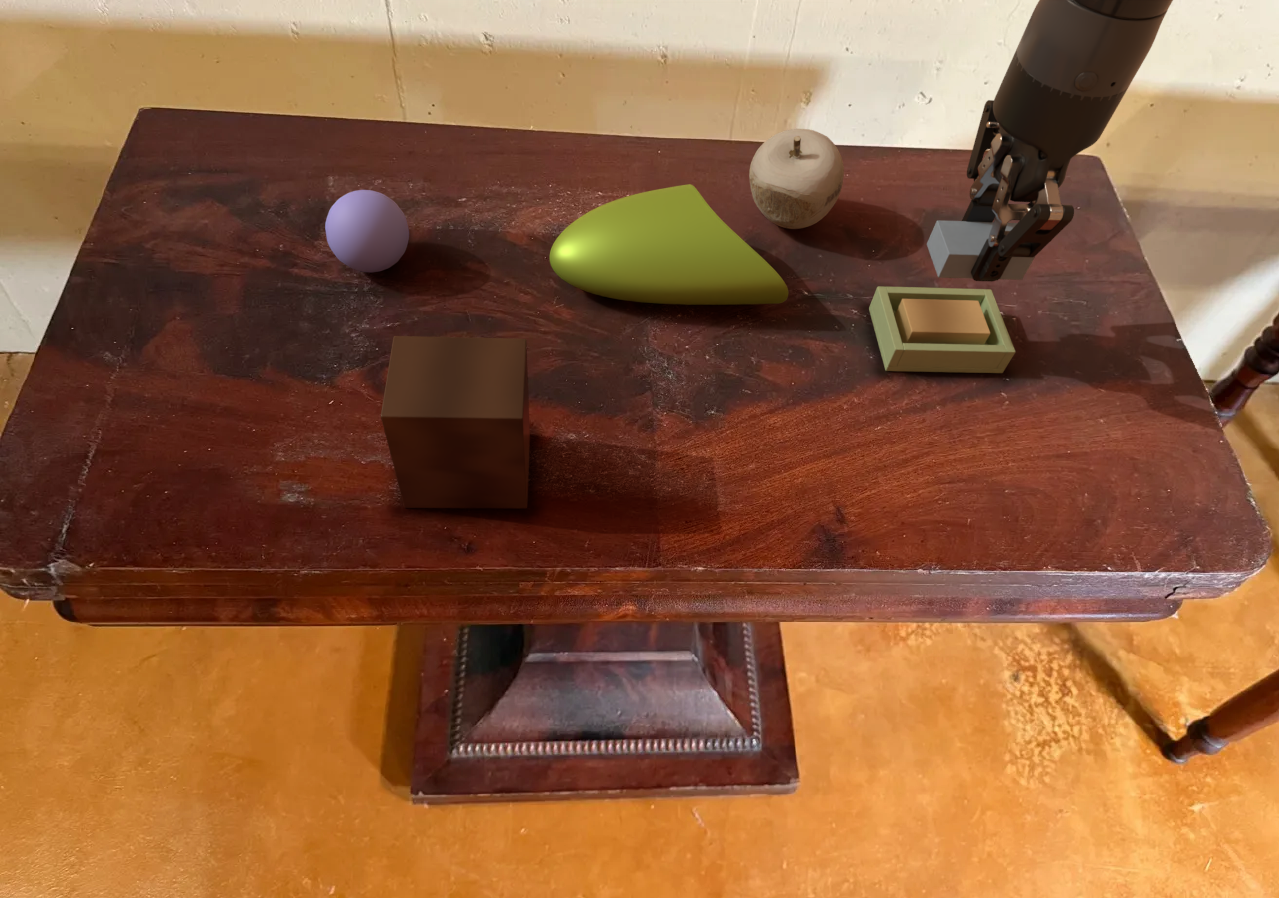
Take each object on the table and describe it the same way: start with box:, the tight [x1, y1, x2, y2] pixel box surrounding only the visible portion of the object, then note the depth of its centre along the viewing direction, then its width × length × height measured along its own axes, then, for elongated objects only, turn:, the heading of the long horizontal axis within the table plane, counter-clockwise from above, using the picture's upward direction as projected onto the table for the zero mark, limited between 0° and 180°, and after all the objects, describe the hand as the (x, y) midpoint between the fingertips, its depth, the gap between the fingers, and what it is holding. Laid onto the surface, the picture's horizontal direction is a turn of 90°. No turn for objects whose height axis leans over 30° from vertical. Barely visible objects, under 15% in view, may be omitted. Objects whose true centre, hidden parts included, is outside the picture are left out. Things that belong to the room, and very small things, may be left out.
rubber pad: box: [926, 219, 1036, 281], centre depth 71 cm, size 7×4×2 cm, turn 92°
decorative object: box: [748, 128, 845, 230], centre depth 84 cm, size 9×9×10 cm
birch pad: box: [895, 299, 990, 345], centre depth 78 cm, size 7×4×2 cm, turn 92°
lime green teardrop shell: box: [549, 183, 789, 306], centre depth 78 cm, size 8×12×20 cm
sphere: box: [324, 189, 410, 273], centre depth 77 cm, size 7×7×7 cm
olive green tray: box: [868, 285, 1016, 374], centre depth 78 cm, size 11×8×3 cm
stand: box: [380, 335, 531, 510], centre depth 63 cm, size 9×7×11 cm
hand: (975, 257), depth 72 cm, fingers closed on rubber pad, 4 cm apart
